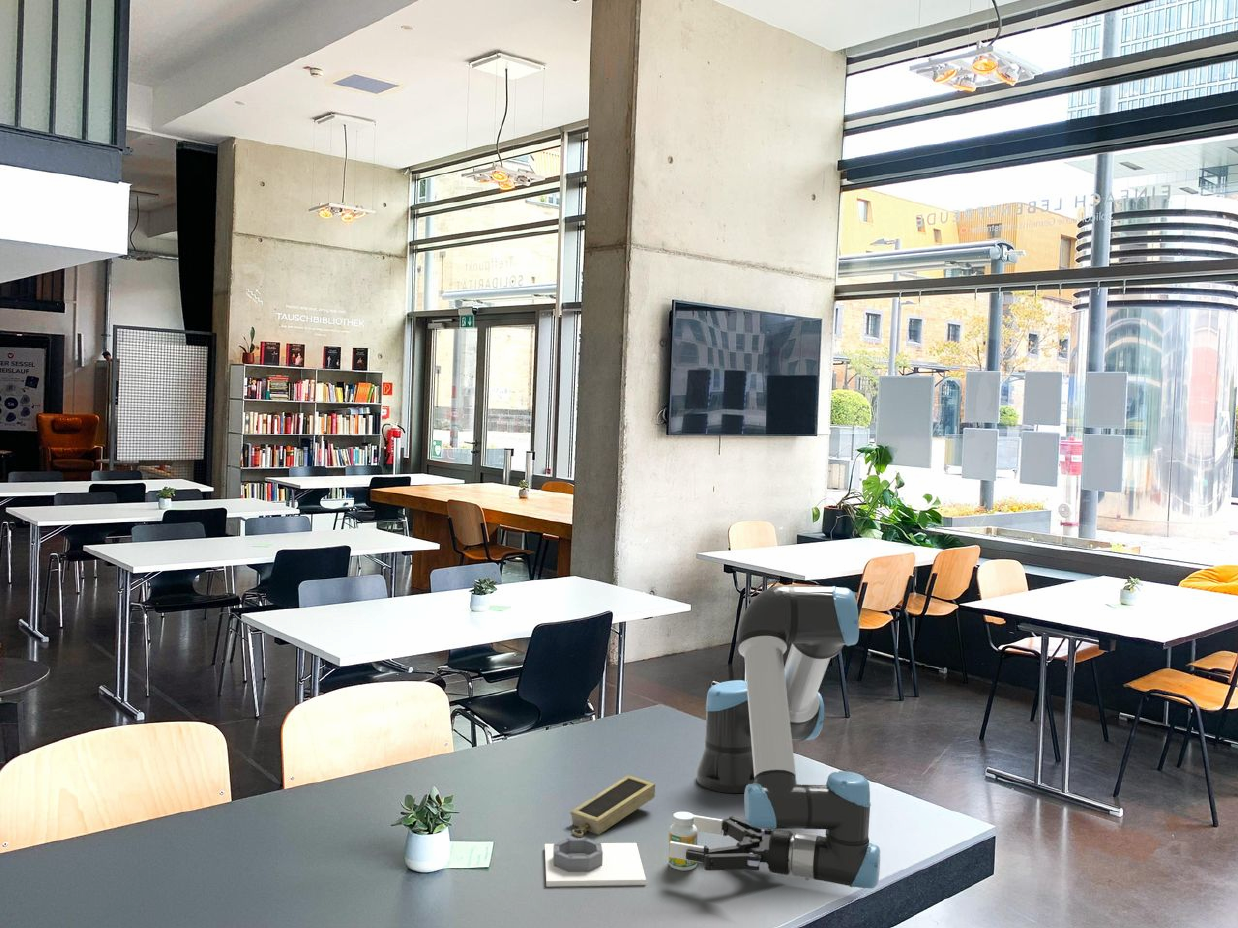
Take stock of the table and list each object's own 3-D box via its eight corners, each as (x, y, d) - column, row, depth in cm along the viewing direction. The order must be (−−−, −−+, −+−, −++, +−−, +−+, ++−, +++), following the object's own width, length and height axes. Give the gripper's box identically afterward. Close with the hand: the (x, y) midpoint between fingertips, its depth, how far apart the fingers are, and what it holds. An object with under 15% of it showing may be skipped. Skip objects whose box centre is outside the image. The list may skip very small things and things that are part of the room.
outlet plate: (636, 847, 194) (636, 830, 194) (645, 884, 178) (646, 865, 178) (544, 848, 192) (545, 831, 192) (546, 886, 176) (546, 867, 176)
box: (658, 803, 214) (656, 782, 213) (590, 852, 197) (587, 829, 196) (629, 794, 219) (627, 773, 218) (560, 841, 202) (557, 818, 202)
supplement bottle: (699, 861, 189) (701, 812, 188) (693, 873, 183) (694, 822, 183) (672, 857, 190) (673, 808, 190) (665, 868, 185) (666, 818, 185)
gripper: (779, 903, 168) (660, 882, 175) (802, 847, 191) (696, 829, 198) (780, 860, 168) (661, 840, 175) (803, 809, 191) (697, 793, 198)
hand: (679, 834), depth 186 cm, fingers open, 13 cm apart
